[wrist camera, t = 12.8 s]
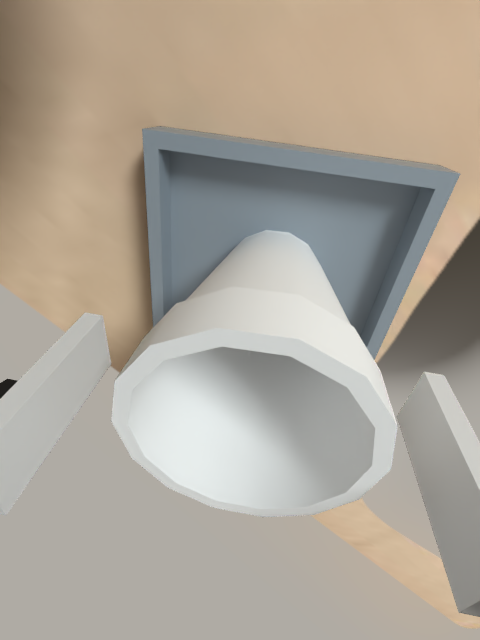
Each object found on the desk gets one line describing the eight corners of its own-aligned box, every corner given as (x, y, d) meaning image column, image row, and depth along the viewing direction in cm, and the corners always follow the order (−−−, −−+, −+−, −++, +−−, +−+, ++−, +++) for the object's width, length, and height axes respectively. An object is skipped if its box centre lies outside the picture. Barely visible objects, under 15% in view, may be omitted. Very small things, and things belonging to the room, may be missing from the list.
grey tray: (166, 340, 27) (155, 360, 25) (160, 126, 18) (142, 128, 16) (351, 374, 26) (356, 398, 24) (440, 165, 17) (460, 173, 15)
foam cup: (189, 213, 20) (63, 335, 9) (344, 193, 18) (413, 317, 7) (219, 336, 25) (159, 508, 14) (343, 331, 23) (383, 526, 12)
